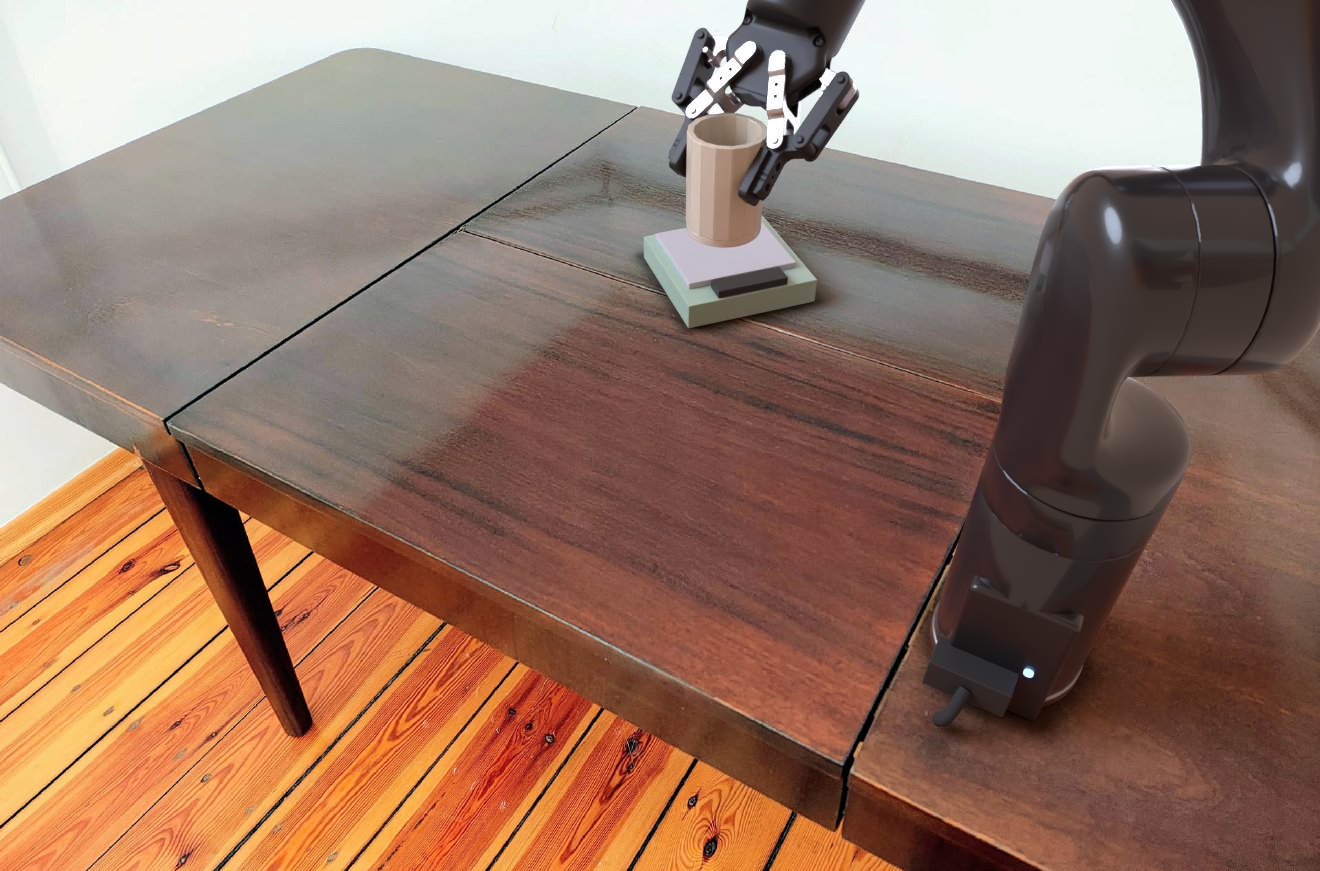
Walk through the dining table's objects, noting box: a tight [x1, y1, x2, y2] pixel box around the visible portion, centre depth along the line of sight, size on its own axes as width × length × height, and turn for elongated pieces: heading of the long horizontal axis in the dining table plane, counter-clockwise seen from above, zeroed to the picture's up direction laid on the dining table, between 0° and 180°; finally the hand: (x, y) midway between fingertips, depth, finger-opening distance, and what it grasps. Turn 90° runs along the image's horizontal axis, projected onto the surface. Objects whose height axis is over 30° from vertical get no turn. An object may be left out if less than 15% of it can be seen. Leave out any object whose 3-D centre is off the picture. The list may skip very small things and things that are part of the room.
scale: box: [643, 215, 818, 329], centre depth 92 cm, size 13×13×3 cm
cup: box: [685, 112, 768, 248], centre depth 70 cm, size 6×6×8 cm
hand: (711, 185), depth 69 cm, fingers closed on cup, 6 cm apart
